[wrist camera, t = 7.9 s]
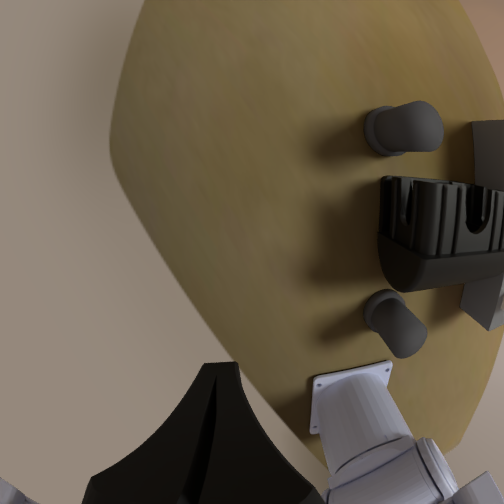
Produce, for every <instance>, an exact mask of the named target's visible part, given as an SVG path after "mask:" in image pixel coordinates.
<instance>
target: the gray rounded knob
mask: <svg viewBox="0 0 504 504" xmlns="http://www.w3.org/2000/svg"><path fill="white" fill-rule="evenodd" d="M364 135H365V138H366V140H367V142H368V144H369V146H370V147H371V148H372V149H373V150H374V151H375V152H377V153H378V154H380V155H383V156H400V155H402V154H404V153H405V152H431V151H434V150H436V149H437V148H438V147H439V146H440V145H441V143H442V140H443V136H444V128H443V123H442V120H441V118H440V116H439V114H438V112H437V111H436V110H435V108H434V107H433V106H431V105H430V104H428V103H427V102H424V101H415V102H411V103H408V104H404V105H401V106H398V107H392V106H383V107H380V108H377V109H374V110H372V111H371V112H370V113H369V114H368V115H367V117H366V119H365V122H364Z"/></svg>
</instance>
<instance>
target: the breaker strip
mask: <svg viewBox="0 0 504 504" xmlns="http://www.w3.org/2000/svg"><path fill="white" fill-rule="evenodd" d="M471 122H472V131H473V142H474V159H475V185H478V186H483V187H487V189H486V205H485V216H486V208H487V194H488V189H491V190H495V189H496V190H501V191H504V120H486V121H471ZM460 308H461V309H462V310H464V311H465V312H466V313H467V314H468V315H470V316H471V317H472V318H473V319H474V320H476V321H477V322H478V323H479V324H480V325H482V326H483V327H484V328H485V329H486V330H487V331H491V330H493V329H495V328H497V327H499V326H501V325H503V324H504V272H503V273H502V274H500V275H498V276H496V277H493V278H488V279H483V280H478V281H473V282H467V283H465V285H464V290H463V295H462V299H461V303H460Z"/></svg>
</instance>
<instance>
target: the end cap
mask: <svg viewBox="0 0 504 504" xmlns="http://www.w3.org/2000/svg"><path fill="white" fill-rule="evenodd" d="M486 189H487V187H483V186H478V185H473V184H466V183H462V182H455V181H446V180H437V179H427V178H415V177H402V176H384V177H383V178H382V179H381V183H380V215H379V232H378V239H377V241H378V253H379V259H380V264H381V267H382V271H383V273H384V275H385V278H386V279H387V281H388V283H389V284H390V285H391V286H392V287H393V288H394V289H395V290H397V291H399V292H402V293H405V292H413V291H420V290H426V289H433V288H439V287H445V286H451V285H456V284H462V283H467V282H473V281H478V280H483V279H488V278H493V277H496V276H498V275H500V274H502V273H503V272H504V191H501V190H496V189H495V190H491V189H488V194H487V208H486V216H485V205H486Z"/></svg>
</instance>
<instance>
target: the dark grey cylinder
mask: <svg viewBox="0 0 504 504" xmlns="http://www.w3.org/2000/svg"><path fill="white" fill-rule="evenodd" d="M363 317H364V320H365V322H366V323H367V325H368V326H369V327H370V329H371V330H372V331H374V332H376V333H379V335H380V336H381V338H382V339H383V340H384V342H385V343H386V345H387V346H388V347H389V349H390V350H391V352H392V353H393V354H394V356H395V357H397V358H400V359H402V358H407V357H410V356H412V355H413V354H415V353H416V352H417V351H418V350H419V349H420V348H421V347H422V345H423V344H424V342H425V340H426V337H427V328H426V327H425V325H424V324H423V323H422V322H421V321H420V320H419V319H418V318H417V317H416V316H415V315H414V314H413V313H412V312H411V311H410V310H409V309H408V308H407V307H406V305H405V301H404V300H403V298H402V297H401V296H400V295H399V294H398V293H396V292H395V291H394V290H391V289H384V290H381V291H378V292H377V293H375V294H374V295H372V296H371V297H370V299H369V300H368V301H367V303H366V305H365V307H364V311H363Z"/></svg>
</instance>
